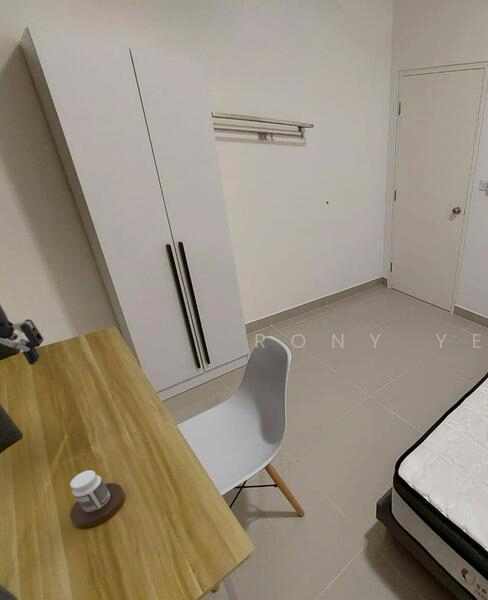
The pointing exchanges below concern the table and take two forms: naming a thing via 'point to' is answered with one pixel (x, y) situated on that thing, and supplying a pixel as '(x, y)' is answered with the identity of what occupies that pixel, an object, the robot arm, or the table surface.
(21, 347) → the robot arm
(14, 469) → the table surface
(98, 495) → the pill bottle
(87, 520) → the walnut disc
